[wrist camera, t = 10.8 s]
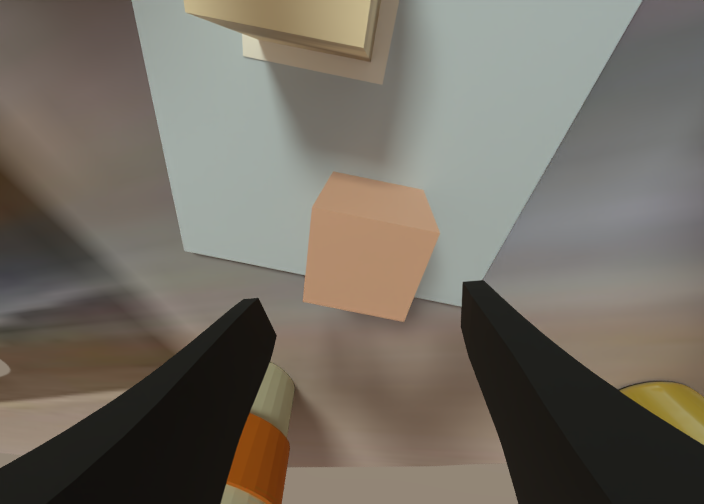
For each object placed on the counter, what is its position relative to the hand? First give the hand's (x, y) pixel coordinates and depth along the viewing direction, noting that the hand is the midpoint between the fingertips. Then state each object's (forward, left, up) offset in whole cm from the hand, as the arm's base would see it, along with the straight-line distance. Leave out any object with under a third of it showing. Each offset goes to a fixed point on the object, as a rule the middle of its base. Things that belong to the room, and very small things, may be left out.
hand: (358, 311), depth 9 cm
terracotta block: (0, 0, -7) cm, 7 cm away
